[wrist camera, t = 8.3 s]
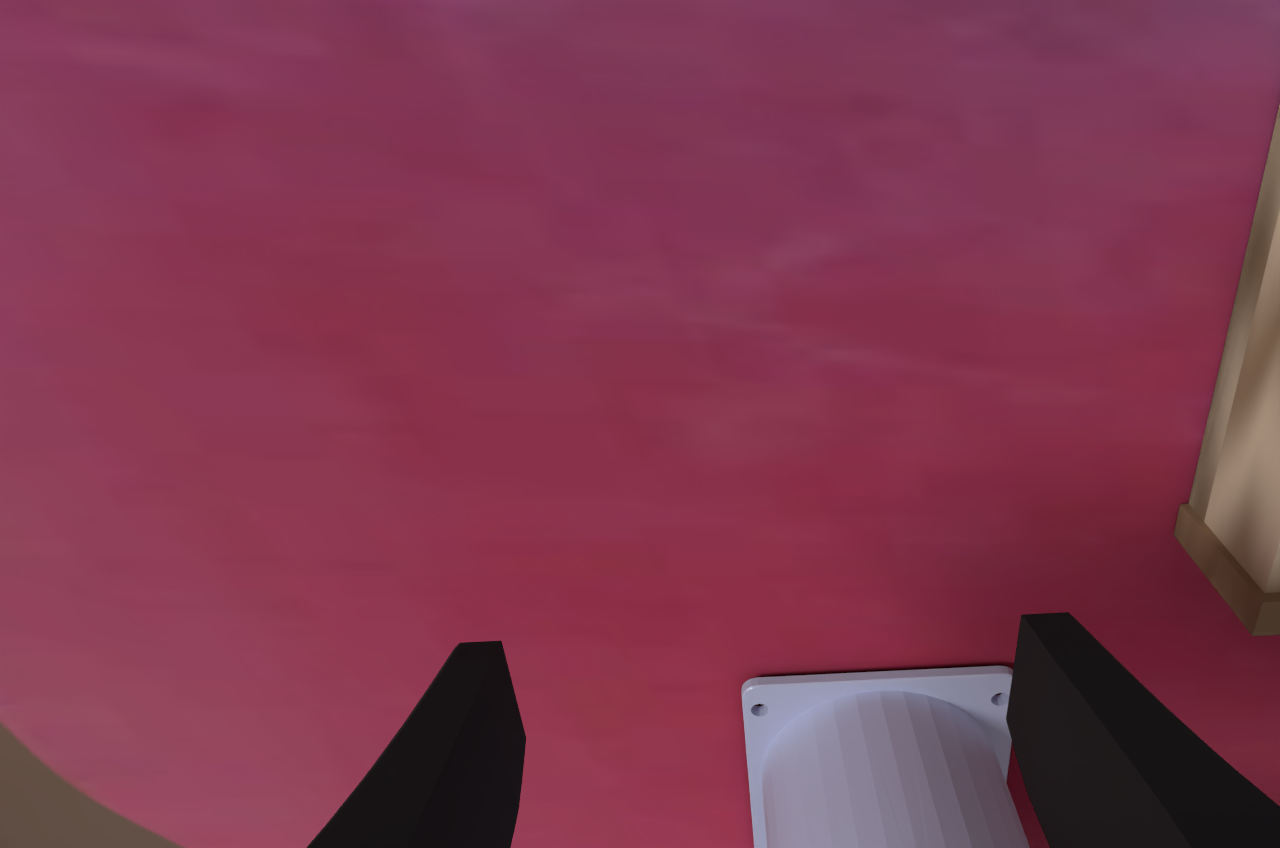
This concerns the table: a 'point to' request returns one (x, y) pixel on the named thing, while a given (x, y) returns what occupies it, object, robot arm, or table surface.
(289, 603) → the table surface
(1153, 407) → the table surface
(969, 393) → the table surface
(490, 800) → the robot arm
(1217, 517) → the crate
